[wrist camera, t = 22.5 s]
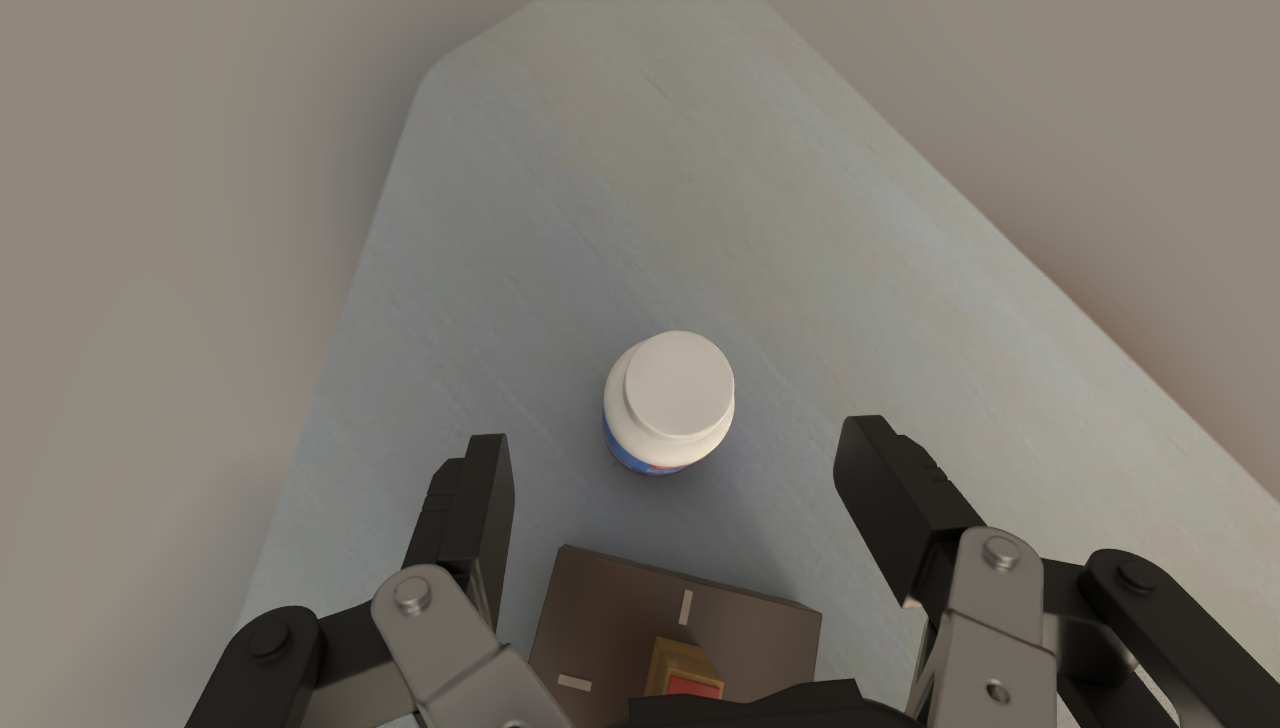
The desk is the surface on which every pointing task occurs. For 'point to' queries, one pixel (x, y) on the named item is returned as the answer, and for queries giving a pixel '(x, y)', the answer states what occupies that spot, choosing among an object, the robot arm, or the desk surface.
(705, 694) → the selector knob
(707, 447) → the pill bottle
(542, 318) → the desk surface
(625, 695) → the panel
